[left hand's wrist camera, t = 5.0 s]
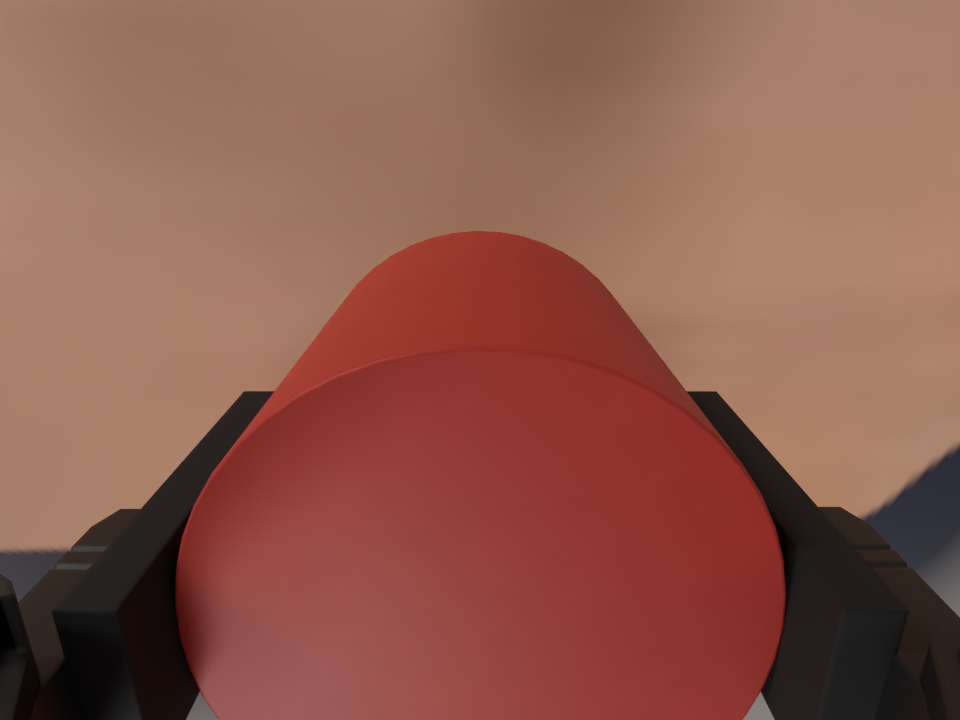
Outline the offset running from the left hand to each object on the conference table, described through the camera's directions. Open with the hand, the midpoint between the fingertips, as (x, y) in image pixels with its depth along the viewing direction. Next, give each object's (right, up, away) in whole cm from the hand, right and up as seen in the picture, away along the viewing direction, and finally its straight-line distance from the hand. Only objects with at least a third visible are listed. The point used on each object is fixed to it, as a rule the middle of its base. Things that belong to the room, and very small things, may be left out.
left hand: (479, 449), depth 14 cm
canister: (0, +1, +3) cm, 3 cm away
